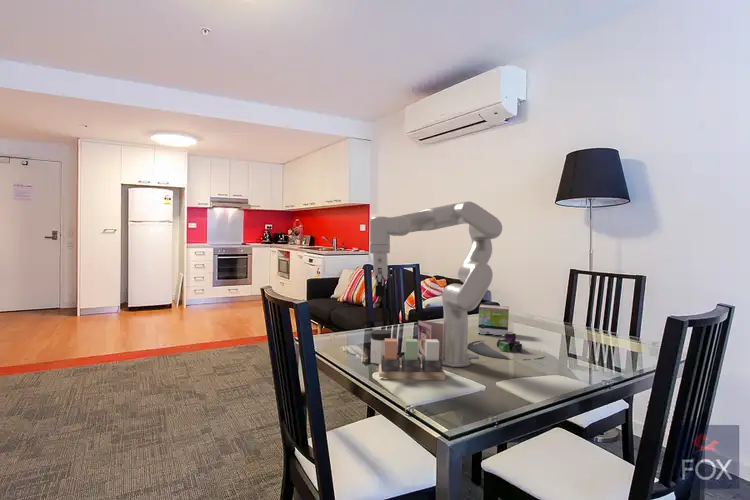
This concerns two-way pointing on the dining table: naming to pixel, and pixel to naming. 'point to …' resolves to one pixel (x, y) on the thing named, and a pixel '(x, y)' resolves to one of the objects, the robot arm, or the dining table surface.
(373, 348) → the jar
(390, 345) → the pink upright block
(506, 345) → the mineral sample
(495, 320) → the tea box
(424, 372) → the base
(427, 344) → the grey button
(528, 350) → the dining table surface
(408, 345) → the pale green upright block
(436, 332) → the greeting card
